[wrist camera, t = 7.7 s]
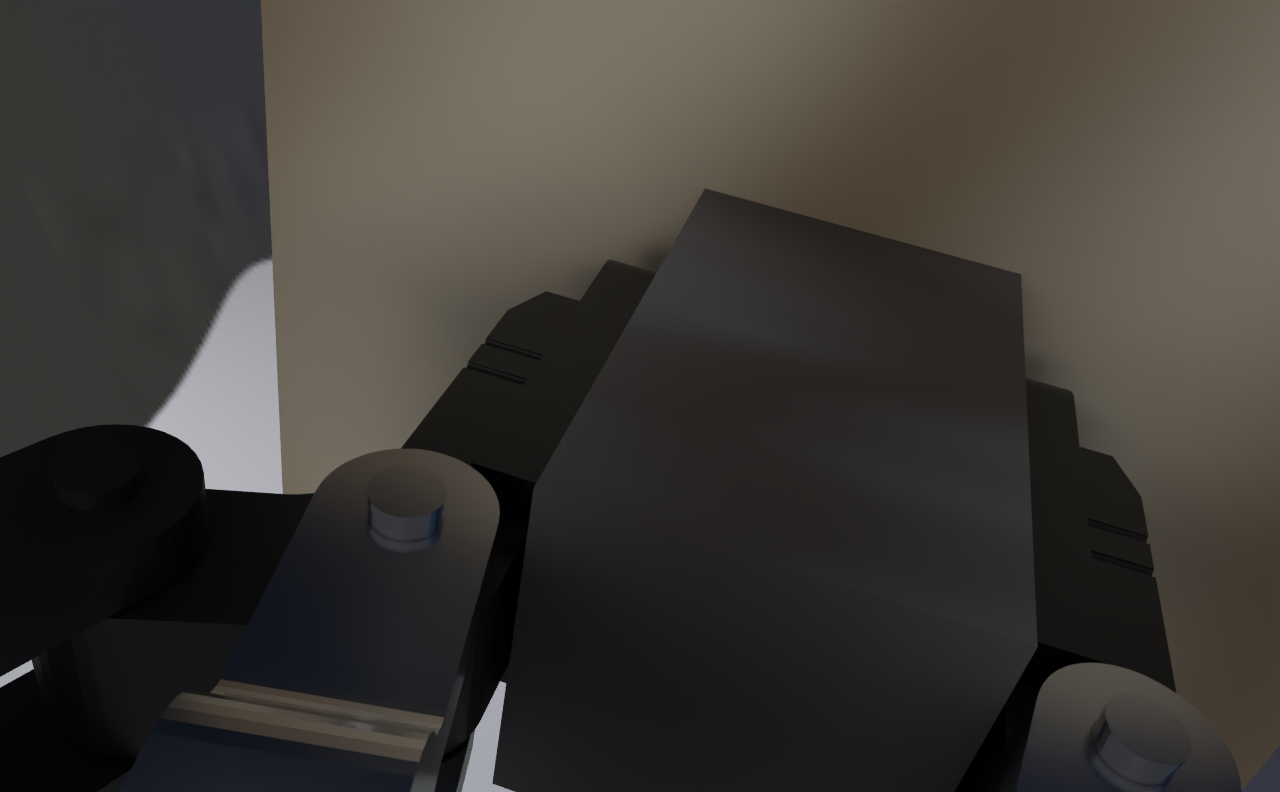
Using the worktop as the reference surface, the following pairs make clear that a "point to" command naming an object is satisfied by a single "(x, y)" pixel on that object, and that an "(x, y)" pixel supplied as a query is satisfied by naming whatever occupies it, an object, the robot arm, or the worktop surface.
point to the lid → (804, 345)
